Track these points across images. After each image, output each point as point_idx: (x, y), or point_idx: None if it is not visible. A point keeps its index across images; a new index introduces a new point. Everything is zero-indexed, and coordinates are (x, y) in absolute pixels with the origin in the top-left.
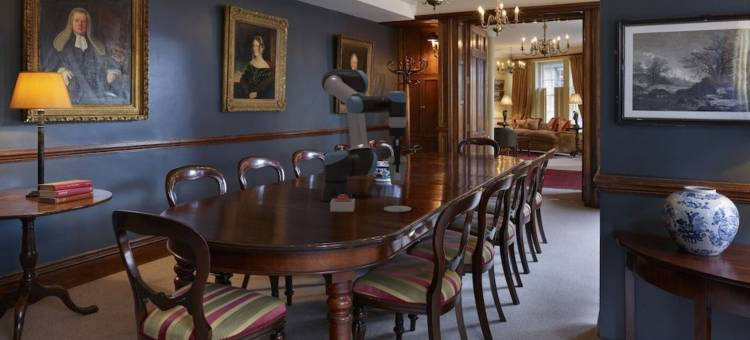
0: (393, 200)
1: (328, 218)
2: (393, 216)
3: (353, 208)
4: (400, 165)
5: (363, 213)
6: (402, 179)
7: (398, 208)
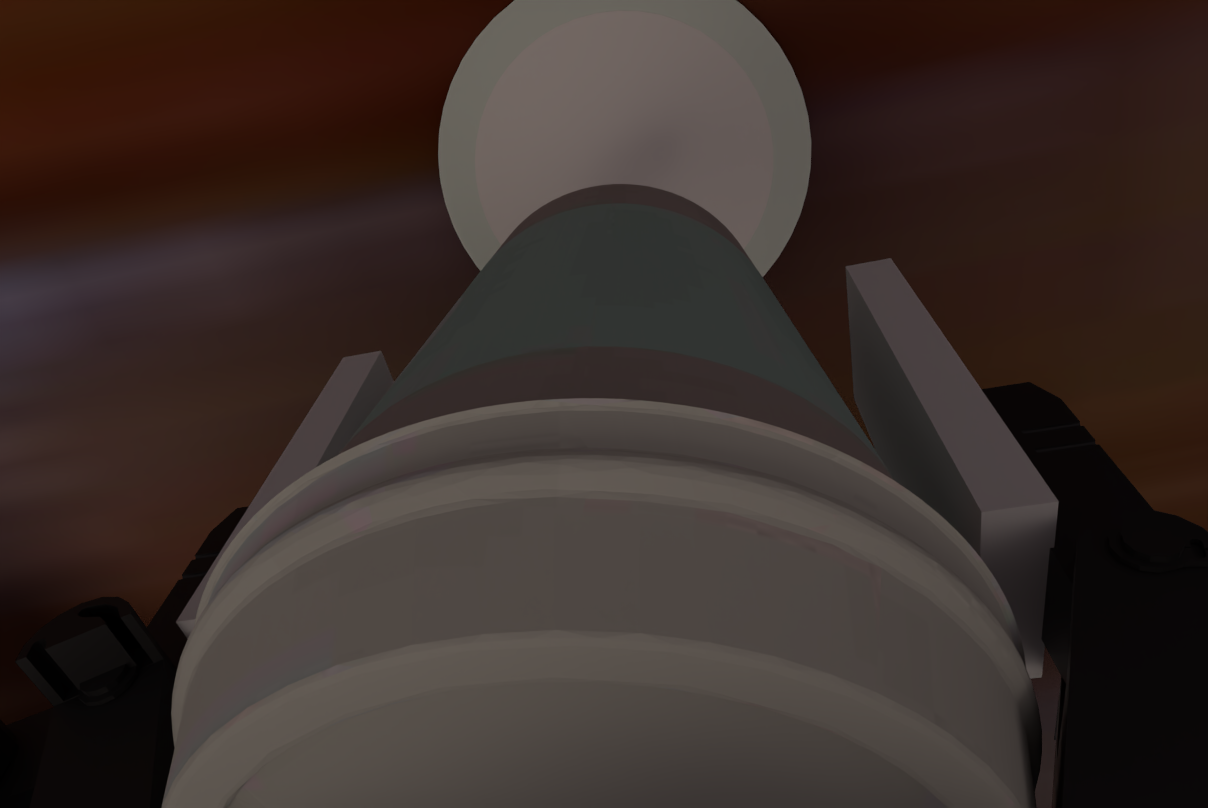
0: (43, 342)
1: None
2: (1128, 114)
3: None
4: (987, 495)
5: None
6: (721, 239)
7: (660, 151)
